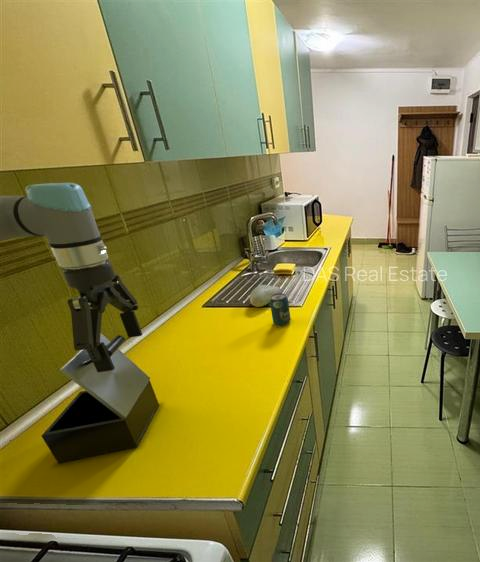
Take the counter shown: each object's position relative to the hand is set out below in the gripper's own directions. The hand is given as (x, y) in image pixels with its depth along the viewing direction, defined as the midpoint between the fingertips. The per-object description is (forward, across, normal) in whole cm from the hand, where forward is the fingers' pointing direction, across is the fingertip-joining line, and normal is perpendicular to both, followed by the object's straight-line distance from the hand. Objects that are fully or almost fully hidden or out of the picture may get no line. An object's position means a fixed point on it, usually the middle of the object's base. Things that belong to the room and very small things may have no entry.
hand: (122, 351), depth 69 cm
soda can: (+23, +44, -31) cm, 58 cm away
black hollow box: (+23, 0, +8) cm, 24 cm away
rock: (+23, +67, -23) cm, 74 cm away
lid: (+6, 0, +4) cm, 7 cm away
